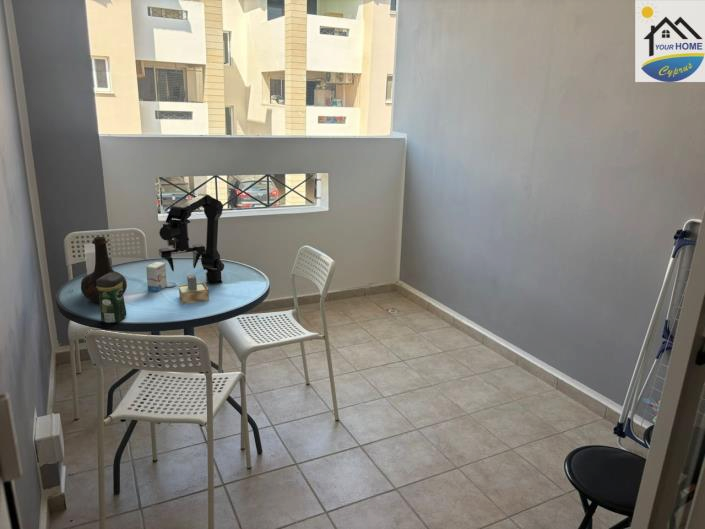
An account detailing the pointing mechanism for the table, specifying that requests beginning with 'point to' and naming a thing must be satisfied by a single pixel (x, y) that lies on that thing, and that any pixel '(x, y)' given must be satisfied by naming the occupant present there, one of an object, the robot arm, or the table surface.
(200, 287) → the cover plate
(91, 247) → the milk
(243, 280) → the table surface
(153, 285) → the ink box
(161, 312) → the table surface
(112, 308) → the coffee jar
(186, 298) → the oak box
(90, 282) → the glass bottle
